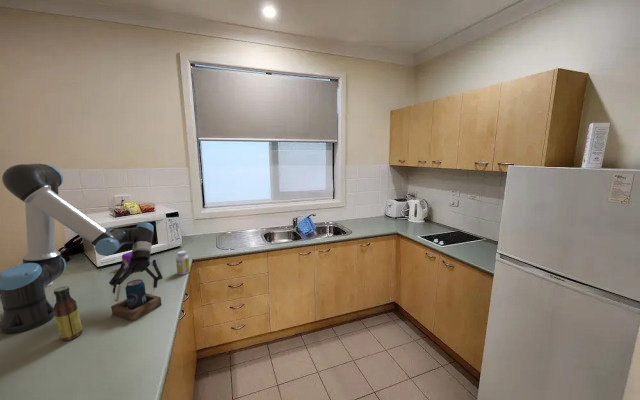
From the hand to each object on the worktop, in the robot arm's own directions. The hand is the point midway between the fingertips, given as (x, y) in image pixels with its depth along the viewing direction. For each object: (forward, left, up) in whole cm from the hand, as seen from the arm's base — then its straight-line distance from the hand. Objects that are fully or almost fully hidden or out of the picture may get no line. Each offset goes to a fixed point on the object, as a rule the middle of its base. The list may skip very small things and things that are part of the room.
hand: (134, 297), depth 112 cm
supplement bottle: (+38, +15, -7) cm, 41 cm away
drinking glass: (0, +70, -7) cm, 70 cm away
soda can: (+2, +2, -6) cm, 7 cm away
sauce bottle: (-19, +8, -7) cm, 22 cm away
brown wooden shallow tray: (+2, +2, -7) cm, 7 cm away
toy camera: (+33, +48, -7) cm, 58 cm away
